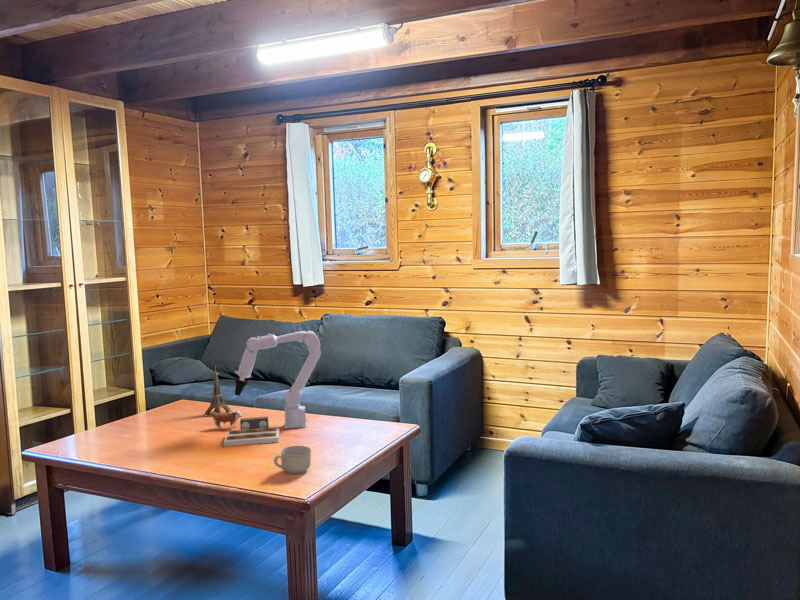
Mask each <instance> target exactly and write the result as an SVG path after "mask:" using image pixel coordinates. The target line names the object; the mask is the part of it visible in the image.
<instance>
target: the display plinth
mask: <svg viewBox="0 0 800 600" xmlns="http://www.w3.org/2000/svg"><path fill="white" fill-rule="evenodd" d="M279 441H280V427H279V428H278V427H277V426H274V427H272V426H271V427H269V428H259V429H246V430H241V429H236V430H235V429H233V430H228V431H227V432H226V435H225V438H224V440H223V446H224V447H234V446H233V445H237V446H244V445H243V444H249V445H259V444H258V443H262V444H271V443H272V442H274V443H279Z"/></svg>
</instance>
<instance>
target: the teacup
mask: <svg viewBox="0 0 800 600" xmlns="http://www.w3.org/2000/svg"><path fill="white" fill-rule="evenodd" d="M311 458H312V449H311V448H310V447H309V446H306V445H289V446H285V447H283V448H282V449H280V454H276V455H275V457H274V458H273V463H274V465H275V466H276V467H278V468H280V469H281V470H283V471H285V472H286V473H288V474H289V475H300V474H303V473H305V472H306V471H307V470H308V469H309V468H310V466H311V461H312V459H311ZM278 459H281V461H280V462H281V464H279V463H278Z"/></svg>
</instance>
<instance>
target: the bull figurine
mask: <svg viewBox="0 0 800 600" xmlns="http://www.w3.org/2000/svg"><path fill="white" fill-rule="evenodd" d="M232 411H233V412H229V413H226V412H221V413H217V412H214V414H213V415H212V420H213V421H214V424H215V426H216V427H217V429H220V430H223V429H224V428H223V427H222V425H221V422H222V423H223V424H224V425H226V423H229V424H230V427H229V429H231V428H237V427H236V426H237V425H236V422H237V421H239V418H240V419H241V418H243V415H242V412H241V410H239V409H238V410H232Z"/></svg>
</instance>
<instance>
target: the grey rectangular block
mask: <svg viewBox="0 0 800 600" xmlns="http://www.w3.org/2000/svg"><path fill="white" fill-rule="evenodd" d="M239 425H240V427H239V428H240V430H246V429H259V428H270V427H269V426H270V425H269V416H259V417H258V416H257V417H244V418H243V417H241V418H240V420H239Z"/></svg>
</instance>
